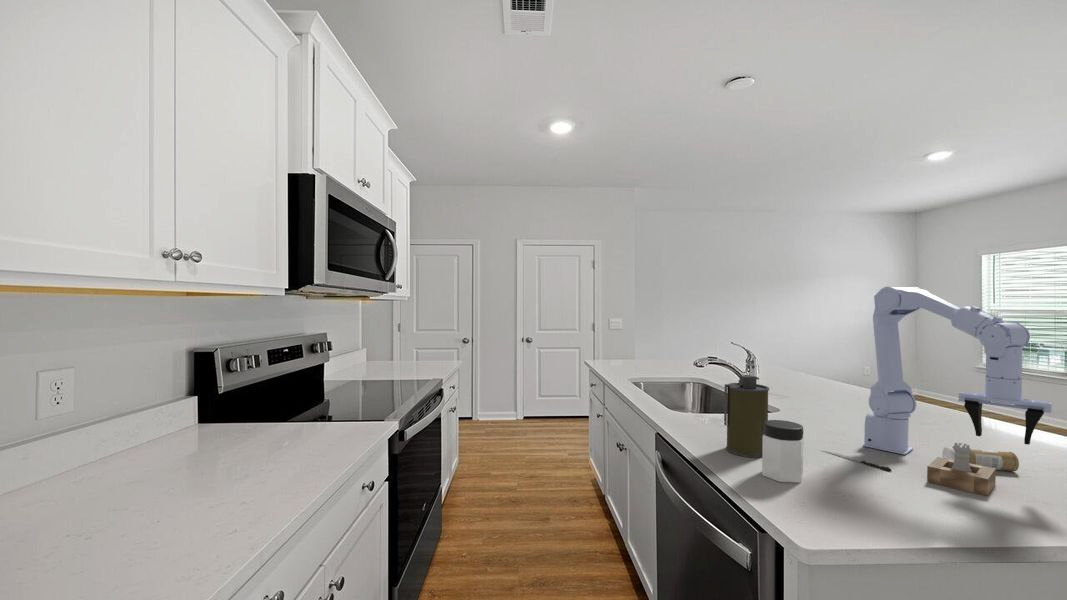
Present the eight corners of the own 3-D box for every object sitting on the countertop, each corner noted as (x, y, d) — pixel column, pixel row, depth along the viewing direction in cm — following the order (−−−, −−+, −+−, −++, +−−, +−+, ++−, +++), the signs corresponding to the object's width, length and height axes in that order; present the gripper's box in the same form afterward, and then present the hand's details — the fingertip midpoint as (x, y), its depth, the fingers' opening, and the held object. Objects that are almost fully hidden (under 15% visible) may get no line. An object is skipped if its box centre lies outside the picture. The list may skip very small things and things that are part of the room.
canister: (760, 446, 134) (760, 373, 134) (775, 458, 123) (776, 380, 123) (719, 444, 135) (720, 372, 135) (731, 456, 125) (731, 379, 124)
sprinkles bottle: (1010, 447, 117) (944, 442, 120) (1022, 461, 113) (953, 455, 116) (1005, 462, 118) (939, 456, 122) (1016, 476, 114) (948, 470, 118)
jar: (812, 480, 109) (813, 427, 109) (788, 486, 106) (789, 431, 105) (777, 467, 117) (777, 417, 117) (753, 472, 114) (754, 421, 114)
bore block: (927, 481, 109) (927, 466, 109) (937, 471, 115) (937, 456, 115) (987, 496, 101) (988, 479, 101) (995, 484, 107) (995, 468, 107)
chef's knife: (820, 449, 133) (813, 450, 132) (821, 445, 133) (813, 446, 132) (897, 472, 116) (890, 473, 114) (897, 467, 116) (890, 468, 114)
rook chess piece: (942, 476, 110) (943, 441, 110) (960, 476, 111) (960, 441, 111) (962, 484, 106) (962, 447, 106) (980, 483, 106) (981, 447, 106)
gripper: (956, 375, 109) (955, 435, 109) (1050, 384, 98) (1048, 451, 98) (962, 371, 114) (961, 429, 114) (1052, 380, 103) (1051, 444, 103)
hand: (1002, 439), depth 106 cm, fingers open, 7 cm apart
